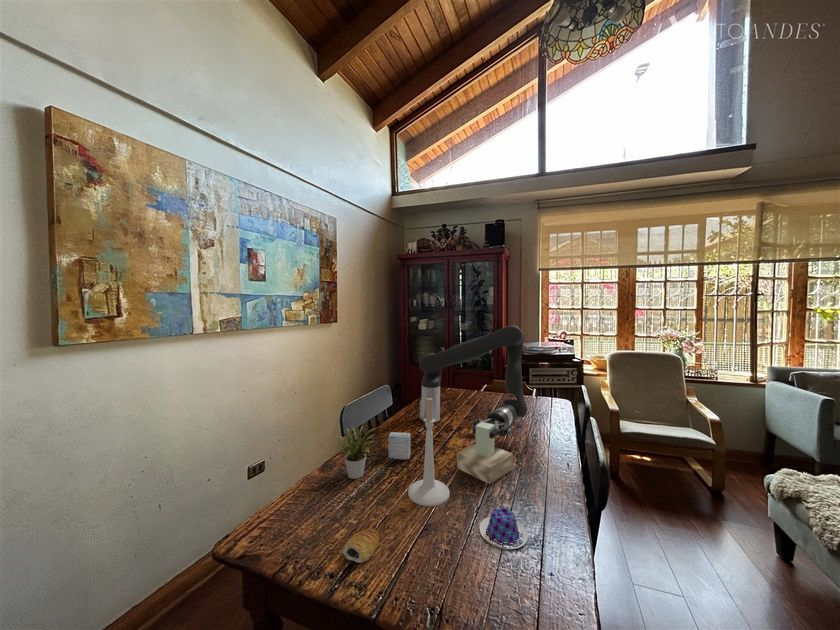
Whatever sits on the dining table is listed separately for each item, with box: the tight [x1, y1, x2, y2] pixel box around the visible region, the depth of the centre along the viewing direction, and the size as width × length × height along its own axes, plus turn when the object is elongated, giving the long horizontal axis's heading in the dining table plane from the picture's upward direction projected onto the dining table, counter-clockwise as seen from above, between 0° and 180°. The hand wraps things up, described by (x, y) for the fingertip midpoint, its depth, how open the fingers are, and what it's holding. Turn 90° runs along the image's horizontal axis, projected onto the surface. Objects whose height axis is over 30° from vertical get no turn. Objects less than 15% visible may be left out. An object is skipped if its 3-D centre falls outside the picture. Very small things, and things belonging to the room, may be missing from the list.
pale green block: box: [475, 422, 496, 458], centre depth 114 cm, size 5×5×10 cm
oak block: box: [456, 443, 514, 485], centre depth 114 cm, size 14×14×6 cm
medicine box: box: [387, 431, 411, 460], centre depth 122 cm, size 8×4×9 cm, turn 84°
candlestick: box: [407, 397, 451, 507], centre depth 98 cm, size 13×13×30 cm
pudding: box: [478, 507, 529, 550], centre depth 82 cm, size 12×12×5 cm
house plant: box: [335, 424, 377, 480], centre depth 109 cm, size 14×14×16 cm
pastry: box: [342, 527, 380, 564], centre depth 76 cm, size 9×7×4 cm
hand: (482, 433), depth 111 cm, fingers open, 5 cm apart
